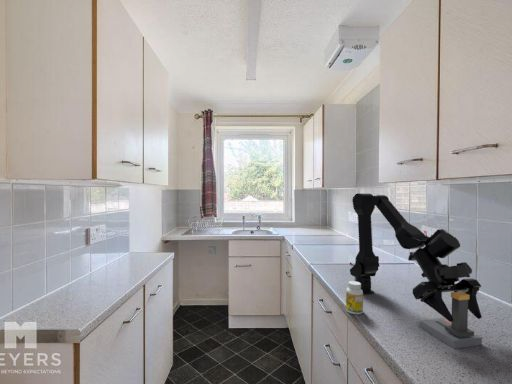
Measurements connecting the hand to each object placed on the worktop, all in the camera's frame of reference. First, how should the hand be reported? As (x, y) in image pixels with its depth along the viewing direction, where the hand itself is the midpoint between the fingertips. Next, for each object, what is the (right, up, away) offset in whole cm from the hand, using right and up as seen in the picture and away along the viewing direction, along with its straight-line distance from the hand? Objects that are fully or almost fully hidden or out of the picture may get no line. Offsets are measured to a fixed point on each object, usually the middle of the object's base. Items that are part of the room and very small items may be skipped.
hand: (466, 319), depth 70 cm
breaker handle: (0, -4, +2) cm, 5 cm away
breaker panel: (-1, -7, +5) cm, 8 cm away
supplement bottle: (-23, -7, +19) cm, 30 cm away
